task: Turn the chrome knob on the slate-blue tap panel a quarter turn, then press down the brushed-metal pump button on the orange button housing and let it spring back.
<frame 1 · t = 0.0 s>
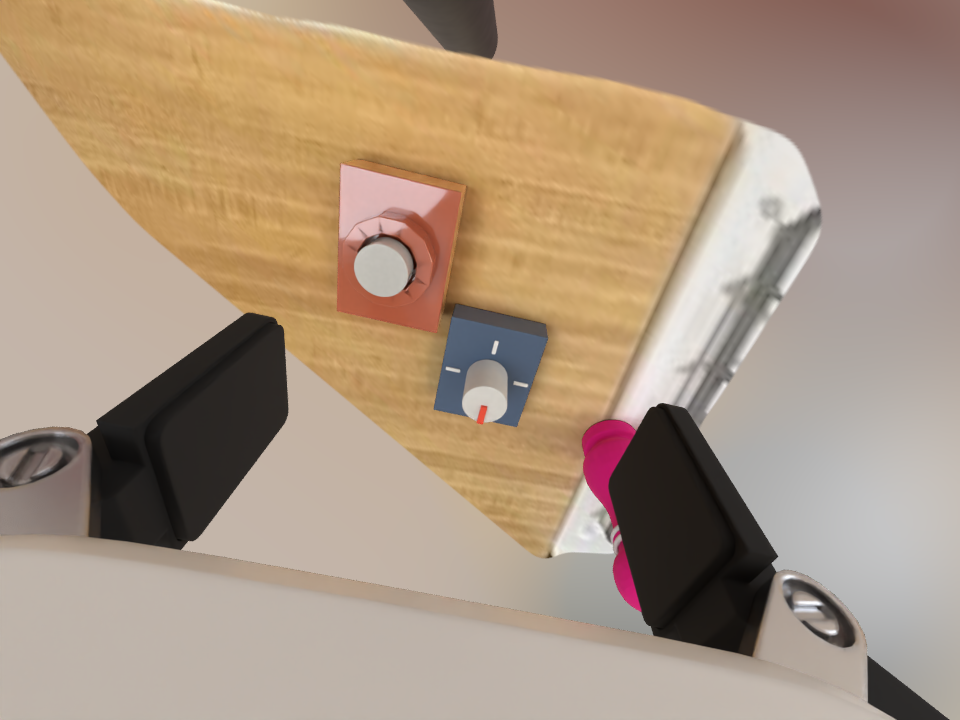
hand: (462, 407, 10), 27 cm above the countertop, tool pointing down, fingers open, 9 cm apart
tap panel: (488, 360, 41), on the countertop
pump: (384, 267, 29), point 7 cm above the countertop, slide at 0.1 cm
pepper mill: (608, 438, 45), on the countertop
orange button housing: (404, 244, 35), on the countertop
tap knob: (485, 391, 36), point 5 cm above the countertop, hinge at 0.0°
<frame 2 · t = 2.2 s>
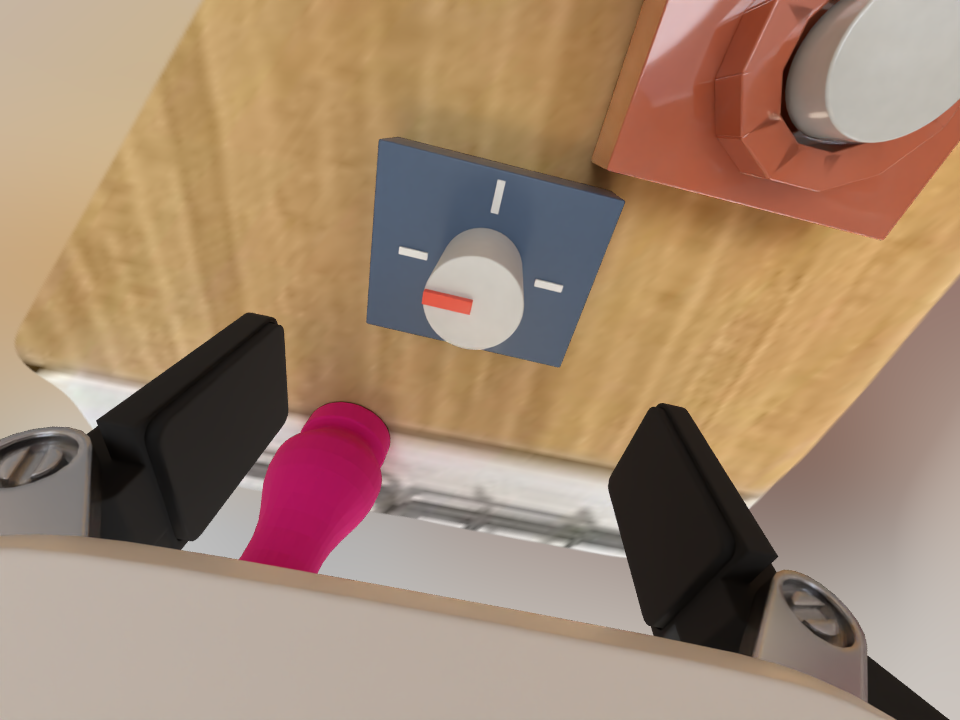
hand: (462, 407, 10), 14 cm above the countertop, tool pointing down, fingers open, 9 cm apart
tap panel: (485, 251, 22), on the countertop
pump: (881, 62, 11), point 7 cm above the countertop, slide at 0.1 cm
pepper mill: (351, 431, 30), on the countertop
orange button housing: (760, 82, 17), on the countertop
tap knob: (477, 287, 17), point 5 cm above the countertop, hinge at 0.0°
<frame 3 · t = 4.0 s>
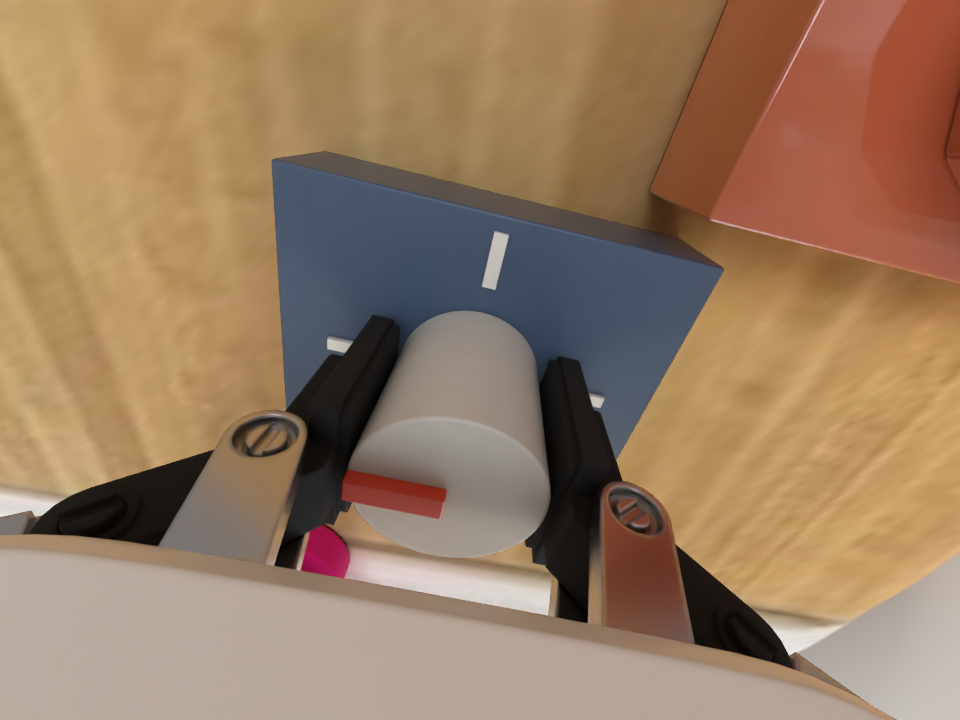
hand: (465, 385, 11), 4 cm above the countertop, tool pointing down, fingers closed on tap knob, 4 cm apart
tap panel: (475, 326, 14), on the countertop
pepper mill: (297, 544, 22), on the countertop
tap knob: (459, 426, 9), point 5 cm above the countertop, hinge at -0.1°, touching gripper
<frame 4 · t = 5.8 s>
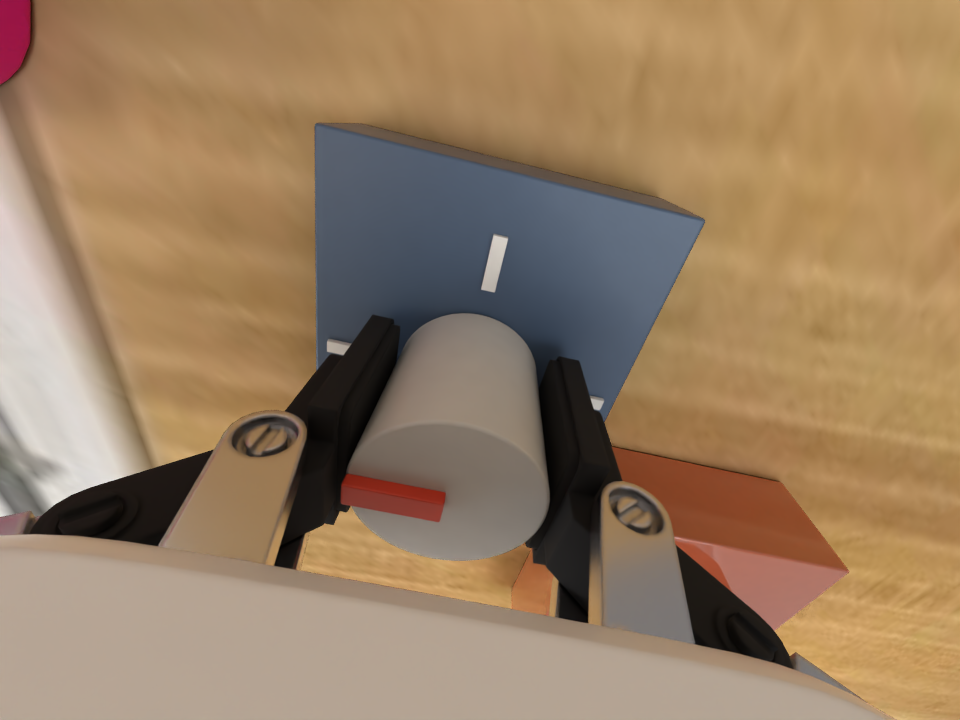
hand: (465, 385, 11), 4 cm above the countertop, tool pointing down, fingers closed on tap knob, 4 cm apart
tap panel: (475, 328, 14), on the countertop
orange button housing: (627, 543, 20), on the countertop
tap knob: (458, 429, 9), point 5 cm above the countertop, hinge at 90.5°, touching gripper
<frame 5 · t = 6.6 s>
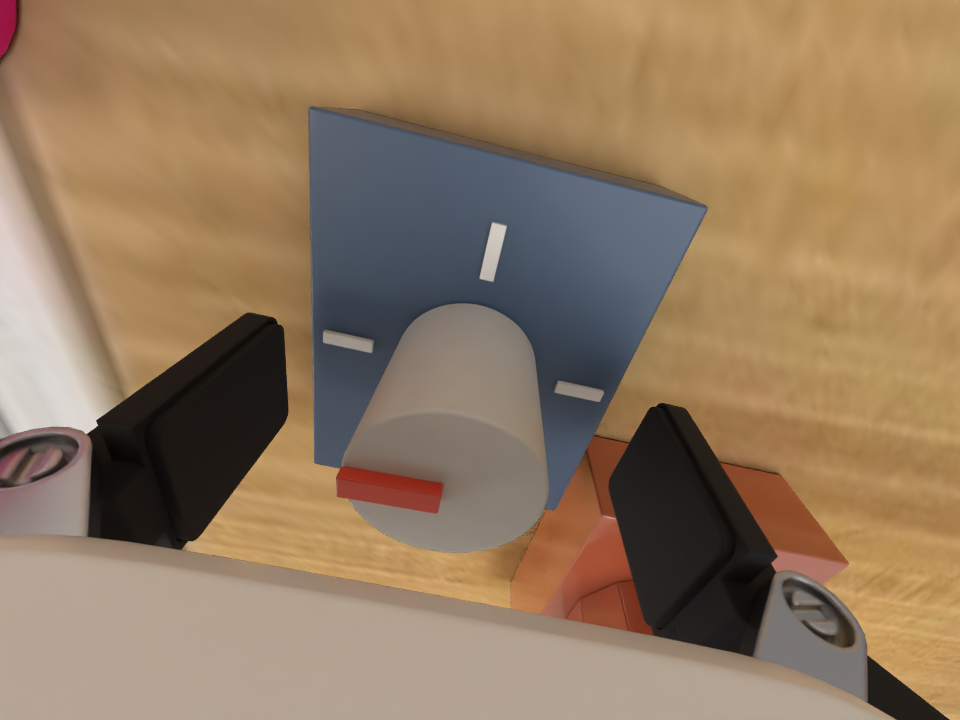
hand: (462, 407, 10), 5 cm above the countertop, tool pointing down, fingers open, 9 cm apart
tap panel: (473, 320, 14), on the countertop
orange button housing: (626, 536, 20), on the countertop
tap knob: (456, 420, 9), point 5 cm above the countertop, hinge at 91.8°
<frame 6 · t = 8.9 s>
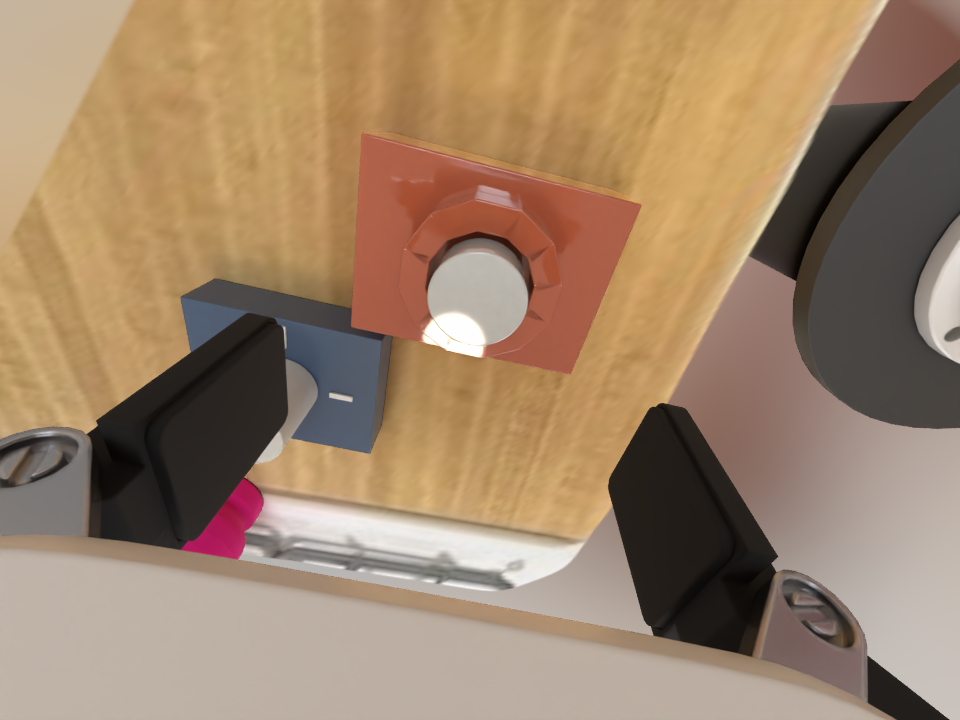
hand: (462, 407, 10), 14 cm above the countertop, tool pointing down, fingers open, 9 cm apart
tap panel: (306, 359, 26), on the countertop
pump: (478, 292, 16), point 7 cm above the countertop, slide at 0.1 cm
pepper mill: (229, 492, 34), on the countertop
orange button housing: (484, 249, 22), on the countertop
tap knob: (264, 409, 22), point 5 cm above the countertop, hinge at 91.8°
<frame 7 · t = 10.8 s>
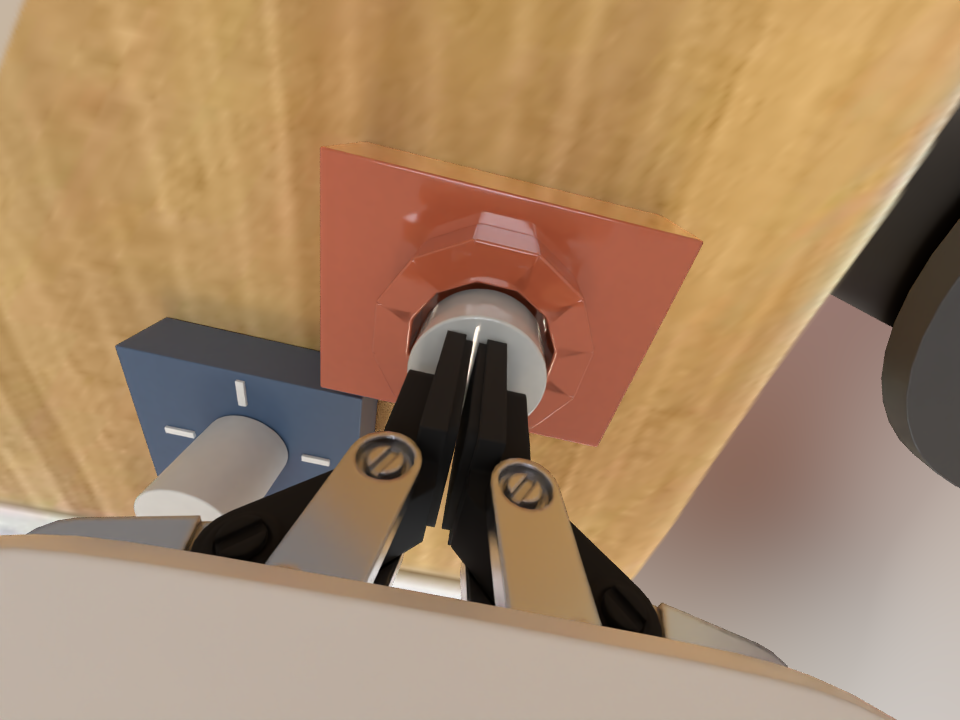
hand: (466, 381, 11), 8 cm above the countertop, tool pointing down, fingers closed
tap panel: (280, 408, 22), on the countertop
pump: (478, 361, 12), point 7 cm above the countertop, slide at 0.0 cm, touching gripper
orange button housing: (490, 286, 17), on the countertop
tap knob: (218, 483, 18), point 5 cm above the countertop, hinge at 91.8°
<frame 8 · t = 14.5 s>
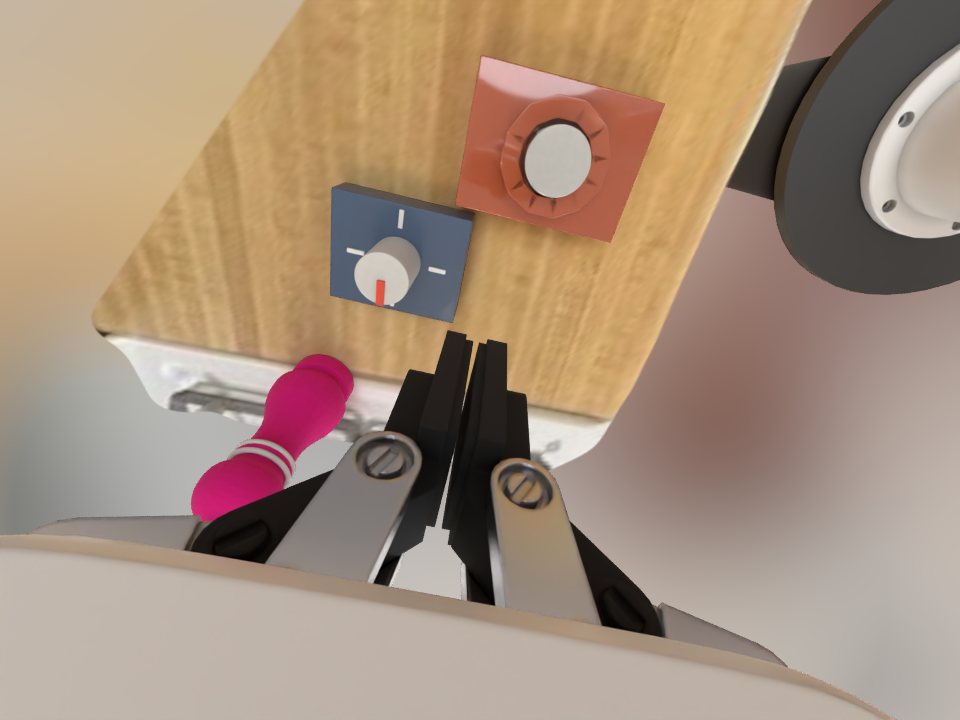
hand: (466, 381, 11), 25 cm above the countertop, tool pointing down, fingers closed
tap panel: (405, 250, 35), on the countertop
pump: (556, 161, 24), point 7 cm above the countertop, slide at 0.1 cm
pepper mill: (326, 377, 43), on the countertop
orange button housing: (547, 154, 30), on the countertop
tap knob: (389, 270, 30), point 5 cm above the countertop, hinge at 91.8°
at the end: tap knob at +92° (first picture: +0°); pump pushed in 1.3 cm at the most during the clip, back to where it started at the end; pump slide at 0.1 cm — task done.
